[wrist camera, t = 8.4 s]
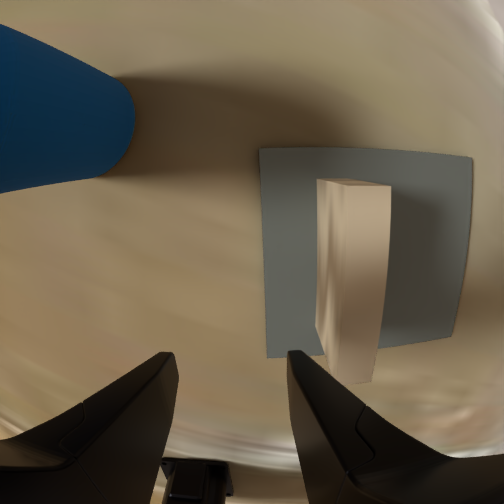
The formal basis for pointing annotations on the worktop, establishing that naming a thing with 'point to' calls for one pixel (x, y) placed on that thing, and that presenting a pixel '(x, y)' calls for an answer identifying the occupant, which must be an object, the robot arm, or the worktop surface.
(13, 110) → the beverage can
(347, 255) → the rectangular block
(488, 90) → the worktop surface
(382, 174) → the mat
